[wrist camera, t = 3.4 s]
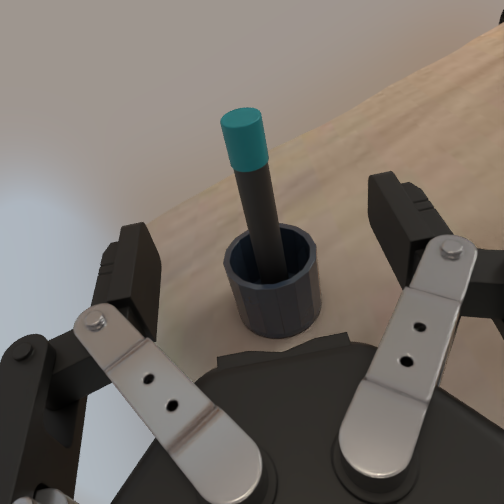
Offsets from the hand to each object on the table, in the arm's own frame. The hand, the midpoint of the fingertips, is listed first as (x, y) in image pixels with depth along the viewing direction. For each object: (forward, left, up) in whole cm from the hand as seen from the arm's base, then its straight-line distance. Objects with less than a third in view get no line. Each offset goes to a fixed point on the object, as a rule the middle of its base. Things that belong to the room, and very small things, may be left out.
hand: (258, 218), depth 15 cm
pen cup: (-9, -6, -18) cm, 22 cm away
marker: (-9, -6, -18) cm, 21 cm away
